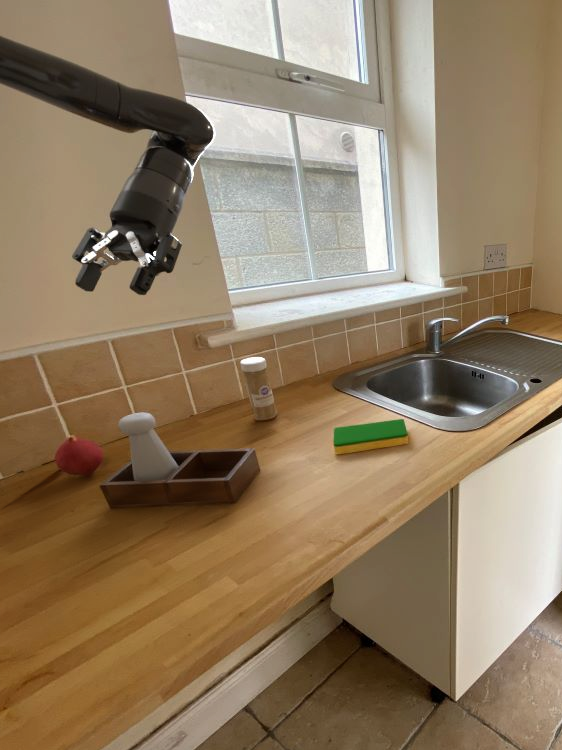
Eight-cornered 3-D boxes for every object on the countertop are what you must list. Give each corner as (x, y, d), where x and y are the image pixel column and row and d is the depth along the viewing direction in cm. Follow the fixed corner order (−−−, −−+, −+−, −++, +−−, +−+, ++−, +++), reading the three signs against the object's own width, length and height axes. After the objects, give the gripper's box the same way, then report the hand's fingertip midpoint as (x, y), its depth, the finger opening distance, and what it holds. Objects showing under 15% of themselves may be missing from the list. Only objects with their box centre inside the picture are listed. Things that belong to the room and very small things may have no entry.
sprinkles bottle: (266, 423, 97) (251, 365, 91) (249, 419, 98) (234, 361, 92) (282, 414, 101) (269, 357, 95) (266, 410, 102) (253, 354, 96)
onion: (57, 480, 76) (36, 440, 73) (96, 463, 81) (78, 424, 78) (79, 488, 75) (59, 447, 71) (118, 470, 80) (101, 431, 76)
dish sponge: (408, 444, 91) (407, 434, 90) (335, 455, 86) (333, 444, 85) (404, 428, 97) (403, 418, 96) (335, 437, 92) (333, 427, 91)
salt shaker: (144, 479, 76) (116, 411, 71) (185, 471, 79) (161, 405, 73) (135, 498, 72) (104, 428, 66) (179, 490, 74) (153, 420, 68)
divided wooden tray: (109, 509, 70) (98, 485, 68) (149, 473, 79) (140, 451, 77) (235, 503, 73) (228, 480, 71) (260, 469, 81) (254, 448, 79)
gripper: (86, 186, 70) (39, 272, 65) (173, 190, 70) (133, 278, 64) (128, 220, 77) (89, 301, 72) (207, 225, 77) (174, 306, 71)
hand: (110, 290), depth 68 cm, fingers open, 8 cm apart
